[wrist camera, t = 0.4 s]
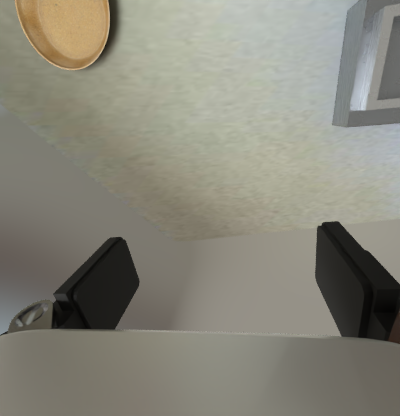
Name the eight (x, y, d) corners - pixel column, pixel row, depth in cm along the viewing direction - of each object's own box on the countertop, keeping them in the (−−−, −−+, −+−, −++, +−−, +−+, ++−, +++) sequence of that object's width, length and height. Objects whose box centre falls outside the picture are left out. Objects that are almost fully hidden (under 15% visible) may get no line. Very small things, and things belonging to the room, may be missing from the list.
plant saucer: (31, 58, 37) (17, 55, 35) (24, -63, 31) (7, -77, 28) (113, 83, 37) (105, 81, 34) (123, -34, 30) (114, -47, 28)
